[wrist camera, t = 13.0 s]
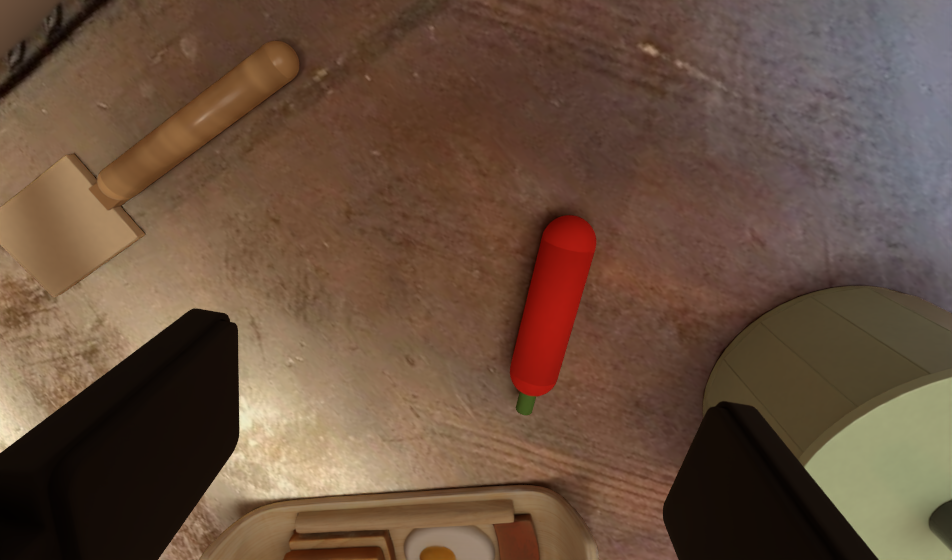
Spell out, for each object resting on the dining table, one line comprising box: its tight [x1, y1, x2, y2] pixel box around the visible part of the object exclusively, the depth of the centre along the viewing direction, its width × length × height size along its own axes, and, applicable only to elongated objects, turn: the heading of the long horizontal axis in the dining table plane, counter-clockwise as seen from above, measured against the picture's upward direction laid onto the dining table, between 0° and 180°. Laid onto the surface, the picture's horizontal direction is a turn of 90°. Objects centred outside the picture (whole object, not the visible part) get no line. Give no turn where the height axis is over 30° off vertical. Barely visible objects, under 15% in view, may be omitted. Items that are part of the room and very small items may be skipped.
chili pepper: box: [510, 215, 596, 415], centre depth 26 cm, size 12×3×3 cm
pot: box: [703, 286, 952, 459], centre depth 25 cm, size 15×15×8 cm
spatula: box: [0, 41, 299, 297], centre depth 24 cm, size 21×5×2 cm, turn 121°
